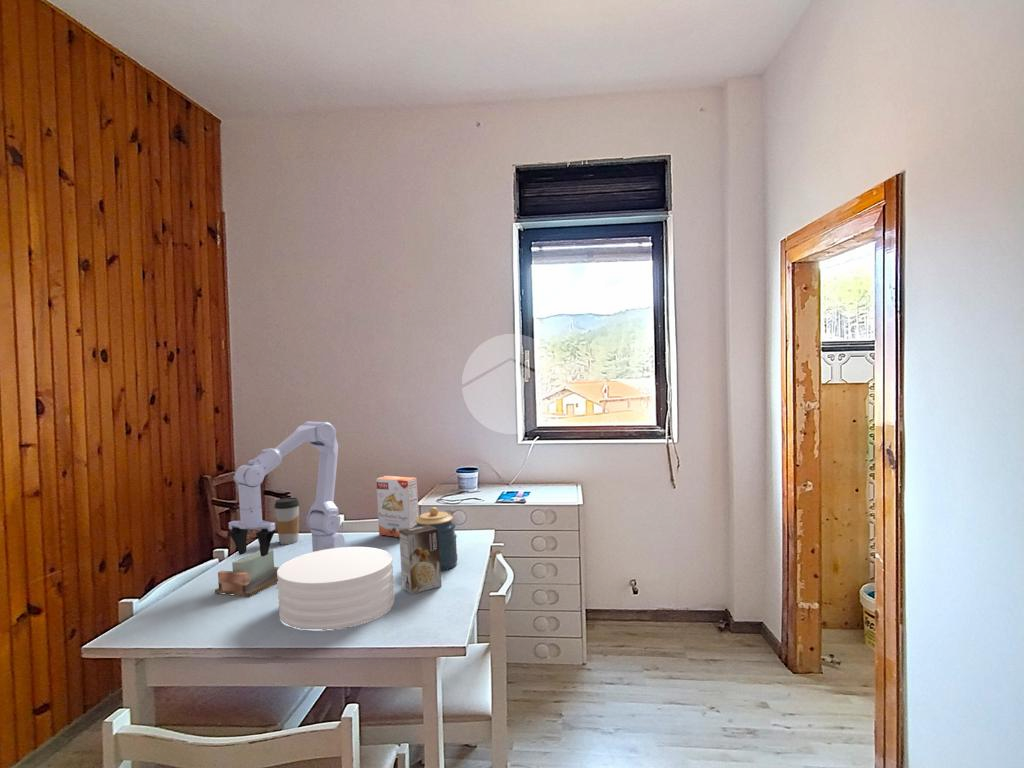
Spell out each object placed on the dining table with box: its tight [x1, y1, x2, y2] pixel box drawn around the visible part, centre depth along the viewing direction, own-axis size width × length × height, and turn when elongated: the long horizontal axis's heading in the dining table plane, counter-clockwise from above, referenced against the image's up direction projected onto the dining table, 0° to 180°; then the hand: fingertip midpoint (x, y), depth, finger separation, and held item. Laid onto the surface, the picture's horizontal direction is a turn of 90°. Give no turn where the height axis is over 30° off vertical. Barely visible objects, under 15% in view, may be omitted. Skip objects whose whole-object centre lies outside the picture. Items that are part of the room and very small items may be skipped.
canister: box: [413, 506, 458, 572], centre depth 187 cm, size 13×13×18 cm
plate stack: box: [277, 546, 395, 630], centre depth 157 cm, size 28×28×12 cm
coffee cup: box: [274, 497, 300, 545], centre depth 219 cm, size 8×8×15 cm
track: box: [214, 566, 280, 597], centre depth 178 cm, size 12×20×6 cm, turn 162°
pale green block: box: [231, 549, 275, 582], centre depth 177 cm, size 4×12×7 cm, turn 162°
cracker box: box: [376, 475, 420, 538], centre depth 221 cm, size 14×6×21 cm, turn 62°
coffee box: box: [398, 525, 442, 595], centre depth 169 cm, size 9×6×16 cm
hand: (253, 554), depth 177 cm, fingers open, 7 cm apart
